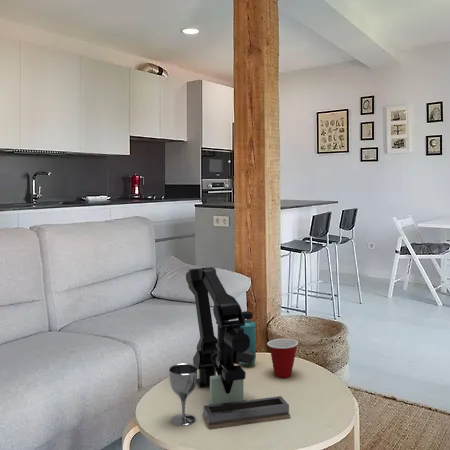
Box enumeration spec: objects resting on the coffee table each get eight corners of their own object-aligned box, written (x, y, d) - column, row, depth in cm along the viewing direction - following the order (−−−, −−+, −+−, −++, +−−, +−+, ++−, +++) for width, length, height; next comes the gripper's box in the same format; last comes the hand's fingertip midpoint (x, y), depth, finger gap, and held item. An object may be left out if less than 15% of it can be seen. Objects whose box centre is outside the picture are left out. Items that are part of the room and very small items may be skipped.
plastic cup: (276, 366, 184) (276, 334, 183) (303, 373, 178) (303, 340, 177) (260, 376, 176) (261, 342, 174) (288, 383, 169) (288, 349, 168)
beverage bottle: (254, 369, 182) (255, 315, 180) (236, 367, 183) (236, 313, 181) (257, 362, 188) (257, 310, 186) (239, 361, 190) (239, 309, 188)
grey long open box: (202, 415, 146) (202, 404, 146) (279, 405, 153) (279, 394, 153) (209, 429, 139) (209, 417, 138) (290, 418, 145) (290, 406, 145)
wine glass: (186, 429, 139) (186, 376, 137) (163, 421, 143) (163, 370, 142) (202, 417, 146) (202, 367, 144) (180, 410, 150) (180, 361, 148)
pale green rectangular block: (209, 401, 154) (209, 376, 154) (240, 397, 157) (241, 372, 156) (211, 404, 152) (211, 379, 151) (243, 400, 155) (243, 375, 154)
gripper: (262, 349, 146) (262, 401, 148) (242, 330, 164) (242, 376, 165) (225, 353, 143) (225, 406, 145) (209, 333, 161) (209, 380, 162)
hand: (226, 391), depth 154 cm, fingers closed on pale green rectangular block, 2 cm apart
